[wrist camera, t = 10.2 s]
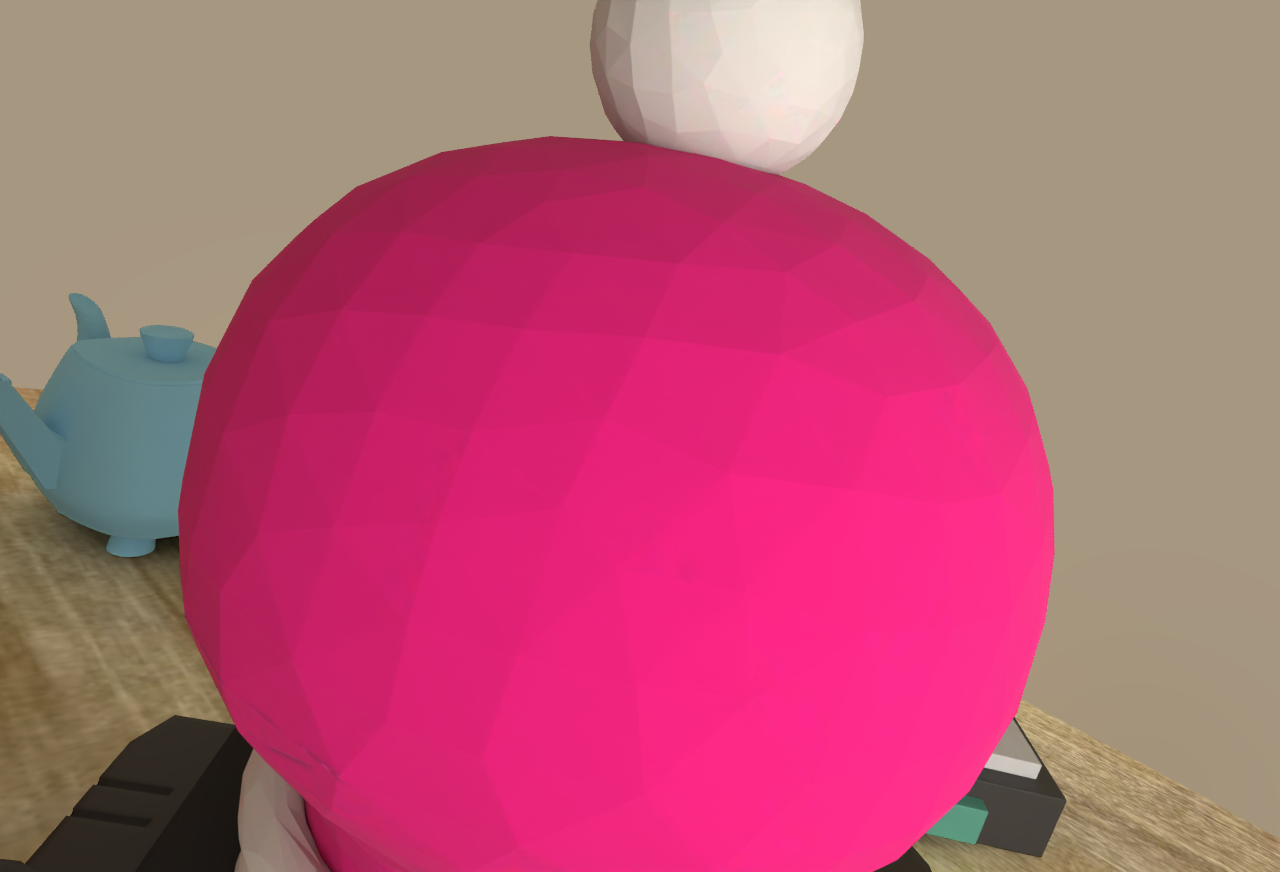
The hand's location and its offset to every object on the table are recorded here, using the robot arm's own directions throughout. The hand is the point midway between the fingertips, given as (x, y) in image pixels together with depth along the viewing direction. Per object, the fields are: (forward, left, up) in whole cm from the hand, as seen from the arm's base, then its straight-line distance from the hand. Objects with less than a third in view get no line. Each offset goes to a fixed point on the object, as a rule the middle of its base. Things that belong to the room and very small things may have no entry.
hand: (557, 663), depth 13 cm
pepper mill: (-5, -1, -11) cm, 12 cm away
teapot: (+32, +26, -17) cm, 45 cm away
